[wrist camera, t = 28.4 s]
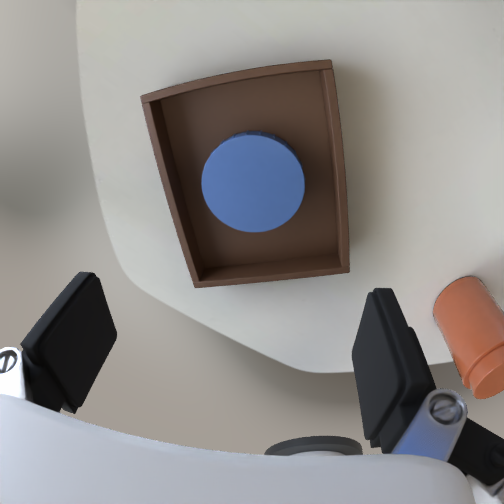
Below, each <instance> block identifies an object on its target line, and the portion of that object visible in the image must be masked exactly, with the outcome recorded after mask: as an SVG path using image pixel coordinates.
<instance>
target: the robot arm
mask: <svg viewBox="0 0 504 504" xmlns="http://www.w3.org/2000/svg"><path fill="white" fill-rule="evenodd" d="M116 338H117V331H116V329H115V326H114V323H113V320H112V317H111V314H110V311H109V308H108V305H107V302H106V298H105V295H104V292H103V289H102V285H101V282H100V279H99V278H98V277H96V275H95V273H91V272H79V273H78V274H77V275H76V276H75V277H74V278H73V280H72V281H71V282H70V283H69V284H68V285H67V286H66V288H65V289H64V290H63V291H62V292H61V293H60V295H59V296H58V297H57V298H56V299H55V301H54V302H53V303H52V304H51V305H50V307H49V308H48V309H47V310H46V312H45V313H44V314H43V315H42V316H41V318H40V319H39V320H38V322H37V323H36V324H35V325H34V327H33V328H32V329H31V331H30V332H29V333H28V334H27V336H26V337H25V338H24V340H23V341H22V342H21V346H22V348H23V351H22V352H20V351H19V349H17V348H15V347H7V348H4V349H2V350H0V504H504V439H503V438H501V437H499V436H497V435H496V434H494V433H492V432H491V431H489V430H487V429H486V428H484V427H482V426H480V425H479V424H477V423H475V422H474V421H472V420H470V419H469V418H467V413H468V411H467V405H466V403H465V401H464V399H463V398H462V397H461V396H460V395H459V394H457V393H456V392H455V391H452V390H449V389H443V388H440V389H436V386H435V383H434V380H433V377H432V374H431V372H430V369H429V366H428V364H427V361H426V358H425V356H424V353H423V351H422V348H421V346H420V343H419V341H418V338H417V336H416V333H415V331H414V329H413V328H412V327H408V325H407V322H406V320H405V318H404V315H403V313H402V310H401V308H400V306H399V303H398V301H397V299H396V297H395V294H394V292H393V290H392V289H391V288H375V289H374V290H373V292H369V293H368V295H367V299H366V303H365V307H364V311H363V314H362V318H361V322H360V325H359V329H358V332H357V336H356V339H355V343H354V346H353V349H352V361H353V367H354V372H355V378H356V383H357V389H358V395H359V402H360V408H361V415H362V422H363V429H364V436H365V439H366V440H370V445H371V448H374V447H381V450H382V453H383V454H374V455H348V456H345V455H344V454H342V453H339V452H334V451H308V452H301V453H296V454H293V455H290V456H275V455H256V454H244V453H232V452H224V451H216V450H208V449H201V448H194V447H188V446H182V445H176V444H171V443H166V442H161V441H156V440H151V439H146V438H142V437H138V436H134V435H129V434H126V433H122V432H118V431H114V430H111V429H107V428H104V427H100V426H97V425H94V424H90V423H87V422H84V421H81V420H78V419H75V418H72V417H69V416H66V415H63V414H61V413H60V410H61V408H63V410H65V411H68V412H70V413H73V414H75V413H76V411H77V409H78V407H81V406H82V404H83V403H84V401H85V399H86V397H87V395H88V392H89V391H90V389H91V387H92V385H93V383H94V381H95V379H96V377H97V375H98V373H99V371H100V369H101V367H102V365H103V364H104V362H105V360H106V358H107V356H108V354H109V352H110V350H111V349H112V347H113V345H114V343H115V341H116Z"/></svg>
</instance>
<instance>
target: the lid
mask: <svg viewBox="0 0 504 504" xmlns="http://www.w3.org/2000/svg"><path fill="white" fill-rule="evenodd" d="M302 167H303V166H302V162H301V161H300V160H299V158H298V156H297V154H296V151H295V150H293V149H292V148H291V147H290V146H289V145H288V144H287V141H284V140H282V139H281V138H279V137H277V136H275V134H273V135H272V134H270V133H266V132H262V130H261V131H249V130H247V131H246V132H242V133H239V134H236V133H235V134H234V135H233V136H231V137H229V138H228V139H226V140H223V141H222V142H221V143H220V145H219V146H218V147H217V148H216V149H214V150H213V151H212V152H211V155H210V157H209V158H208V160H207V162H206V163H205V166H204V170H203V174H202V191H203V195H204V198H205V201H206V203H207V205H208V207H209V208H210V210H211V211H212V212H213V214H214V215H215V216H216V217H217V218H218V219H219V220H221V221H222V222H223V223H225V224H226V225H228V226H230V227H232V228H234V229H237V230H241V231H245V232H264V231H268V230H272V229H274V228H277V227H279V226H281V225H282V224H284V223H285V222H287V221H288V220H289V219H290V218H291V217H292V216H293V215H294V214H295V213H296V211H297V210H298V208H299V206H300V204H301V202H302V200H303V196H304V193H305V180H306V179H305V175H304V173H303V170H302Z"/></svg>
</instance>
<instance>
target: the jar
mask: <svg viewBox="0 0 504 504" xmlns="http://www.w3.org/2000/svg"><path fill="white" fill-rule="evenodd" d="M433 316H434V319H435V321H436V323H437V325H438V327H439V329H440V331H441V334H442V336H443V338H444V340H445V342H446V344H447V347H448V349H449V351H450V353H451V356H452V358H453V360H454V363H455V365H456V367H457V370H458V372H459V375H460V377H461V380H462V382H463V385H464V386H465V387H467V388H468V389H471V390H472V392H473V395H474V397H475V398H477V399H486V398H489V397H492V396H494V395H496V394H498V393H500V392H501V391H503V390H504V312H503V311H502V309H501V308H500V306H499V305H498V303H497V302H496V300H495V299H494V298H493V296H492V295H491V293H490V292H489V291H488V289H487V288H486V286H485V285H484V284H483V282H482V281H481V280H480V279H478V278H476V277H463V278H460V279H458V280H456V281H454V282H453V283H451V284H450V285H448V286H447V287H446V288H445V289H444V290H443V291H442V293H441V294H440V295H439V297H438V298H437V300H436V302H435V305H434V309H433Z"/></svg>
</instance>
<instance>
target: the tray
mask: <svg viewBox="0 0 504 504" xmlns="http://www.w3.org/2000/svg"><path fill="white" fill-rule="evenodd" d="M332 68H333V66H332V61H331V60H318V61H306V62H297V63H288V64H280V65H273V66H266V67H259V68H253V69H247V70H242V71H236V72H231V73H226V74H221V75H216V76H212V77H207V78H203V79H199V80H195V81H191V82H187V83H183V84H179V85H175V86H172V87H168V88H165V89H161V90H158V91H154V92H151V93H148V94H145V95H142V96H140V98H141V102H142V107H143V111H144V115H145V119H146V123H147V127H148V131H149V135H150V139H151V143H152V147H153V151H154V155H155V159H156V162H157V166H158V170H159V173H160V177H161V181H162V184H163V188H164V191H165V195H166V198H167V202H168V205H169V208H170V212H171V215H172V218H173V222H174V225H175V228H176V232H177V235H178V238H179V241H180V244H181V248H182V251H183V254H184V257H185V260H186V263H187V266H188V269H189V272H190V275H191V278H192V281H193V284H194V287H195V288H203V287H215V286H226V285H237V284H248V283H258V282H269V281H279V280H288V279H298V278H307V277H316V276H325V275H334V274H343V273H349V272H350V267H349V265H350V263H349V226H348V205H347V189H346V175H345V163H344V152H343V141H342V132H341V123H340V115H339V107H338V99H337V92H336V85H335V79H334V72H333V69H332ZM247 130H249V131H261V130H262V132H266V133H270V134H272V135H273V134H275V136H277V137H279V138H281V139H282V140H284V141H287V144H288V145H289V146H290V147H291V148H292V149H293V150H295V151H296V154H297V156H298V158H299V160H300V161H301V162H302V166H303V167H302V170H303V173H304V175H305V179H306V180H305V193H304V196H303V200H302V202H301V204H300V206H299V208H298V210H297V211H296V213H295V214H294V215H293V216H292V217H291V218H290V219H289V220H288V221H287V222H285V223H284V224H282V225H281V226H279V227H277V228H274V229H272V230H268V231H264V232H245V231H241V230H237V229H234V228H232V227H230V226H228V225H226V224H225V223H223V222H222V221H221V220H219V219H218V218H217V217H216V216H215V215H214V214H213V212H212V211H211V210H210V208H209V207H208V205H207V203H206V201H205V198H204V195H203V191H202V174H203V170H204V166H205V163H206V162H207V160H208V158H209V157H210V155H211V152H212V151H213V150H214V149H216V148H217V147H218V146H219V145H220V143H221V142H222V141H223V140H226V139H228V138H229V137H231V136H233V135H234V134H235V133H236V134H239V133H242V132H246V131H247Z"/></svg>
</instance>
